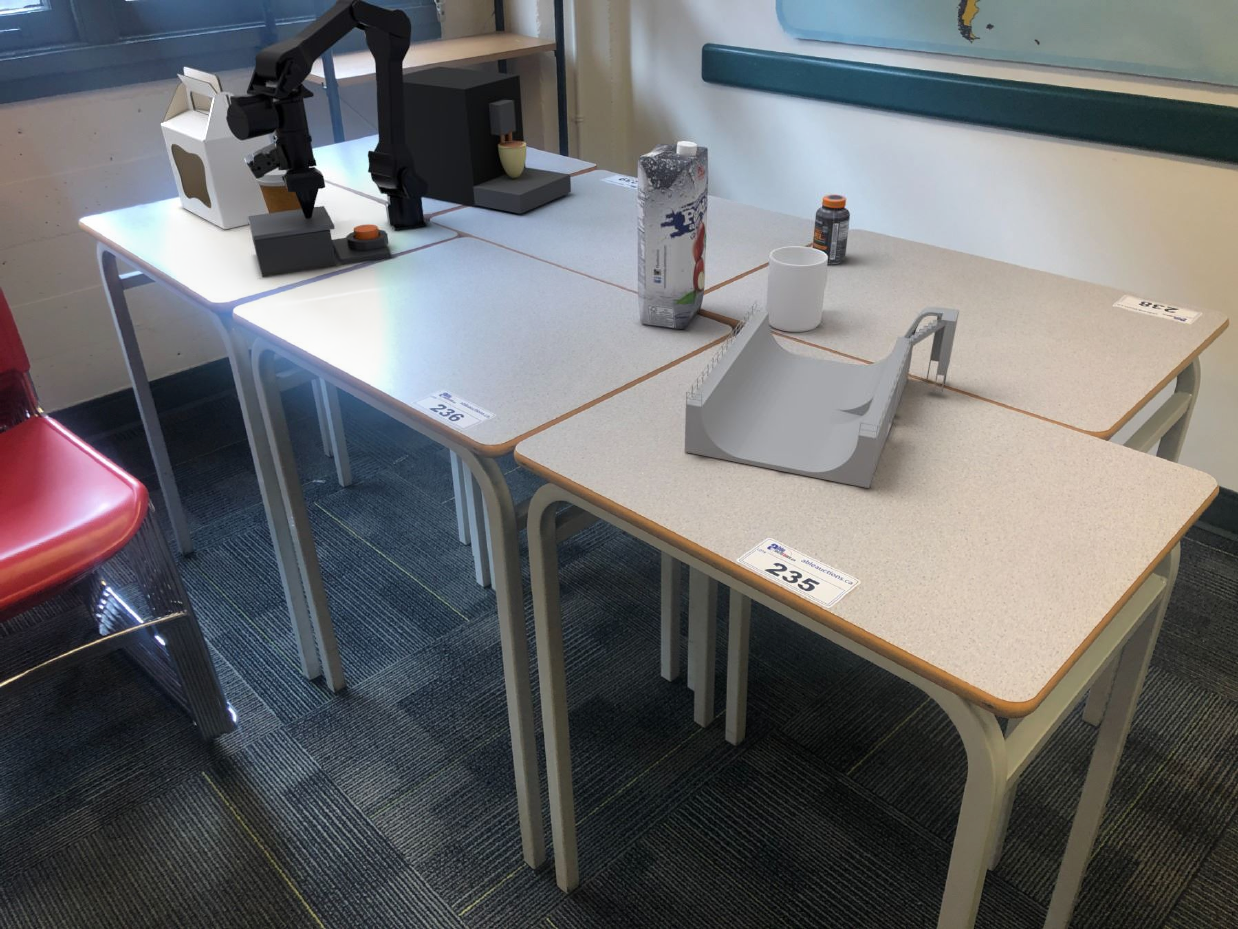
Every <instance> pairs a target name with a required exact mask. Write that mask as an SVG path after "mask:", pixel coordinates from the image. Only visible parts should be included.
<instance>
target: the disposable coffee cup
mask: <svg viewBox="0 0 1238 929" xmlns="http://www.w3.org/2000/svg"><path fill="white" fill-rule="evenodd" d="M285 174H286V170H278V168H276V169H274V170H272V171H271V172H269V173H267V174H265V175H264V176H263V177H261V178H259V179H256V178H255V179H256V181H257V183H258V184H259V185H260V188H261V191H262V194H263V197H264V200H265V203H266V206H267V209H268V212H269V213H275V212H283V211H290V210H298V209H301V206H300V204H299V201H298V199H297V196H296V194H295V192H288V190H287V188H286V186H285V184H284V181H283V179H282V176H284V175H285Z"/></svg>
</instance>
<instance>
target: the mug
mask: <svg viewBox="0 0 1238 929" xmlns="http://www.w3.org/2000/svg"><path fill="white" fill-rule="evenodd" d="M827 261H828V256H827V254H826V253H824V252H822V251H820V250H818V249H814V248H813V247H809V246H801V245H799V246H797V245H795V246H793V245H792V246H791V245H790V246H783V247H779V248H775V249H773V250H772V251H771V252H770V253H769V257H768V273H767V285H766V299H765V312H769V326H770V327H771V328H774V329H775V330H779V331H783V332H788V333H789V332H790V333H803V332H809V331H812V330H814V329H816V328H817V327H818V326H819V325H820V323H821V322H822V316H823V310H824V309H823V307H824V298H825V291H826V290H825V289H826V285H827V281H828V273H829V269H828V264H827Z"/></svg>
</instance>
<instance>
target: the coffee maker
mask: <svg viewBox="0 0 1238 929" xmlns="http://www.w3.org/2000/svg"><path fill="white" fill-rule="evenodd" d="M520 76H521V75H520V74H514V73H503V72H497V71H496V72H495V71H485V70H477V69H467V68H457V67H449V66H434V67H430V68H426V69H422V70H418V71H413V72H408V73H405V74H403V94H404V124H405V143H406V145H407V147H408V149H409V151H410V153H411V155H412V157H413V160H414V166H415V172H416V173H417V174H418V175H419V176H420V177H421V178H422V179H423V180H424V181H426V182H427V183H428V189H427V195H424V196H422V198H427V199H432V200H438V201H442V202H448V203H453V204H456V205H457V204H458V205H463V206H467V207H468V206H469V207H473V208H478V207H485V208H489V209H494V210H495V209H496V210H499V211H504V212H510V213H516V214H520V215H521V214H524V213H526V212H528V211H531V210H532V209H535V208H537V207H539V206H540V207H541V206H542V205H544V204H546V203H549V202H551V201H553V200H556V199H558V198H561V197H564V196H565V195H568V194H570V193H572V186H571V185H572V183H571V181H572V180H571V174H570V173H563V172H556V171H551V170H545V169H538V168H532V167H528V166H527V165H526V160H527V142H525V136H524V122H523V110H522V94H521V91H522V90H521V78H520Z"/></svg>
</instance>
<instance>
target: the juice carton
mask: <svg viewBox="0 0 1238 929" xmlns="http://www.w3.org/2000/svg"><path fill="white" fill-rule="evenodd" d="M636 185H637V186H636V188H637V192H636V193H637V194H636V197H637V200H636V202H637V204H636V205H637V206H636V207H637V303H638V312H639V317H640V322H641V324H643V325H648V326H655V327H663V328H669V329H675V330H684V329H685V328H686V327H688V325H689V324H690V322H691V321H692V320H693V318H694V317H695V316H696V315H697V314H698V313H699V312H700V310H701V308H702V305H703V300H704V296H705V284H706V256H707V229H708V198H709V197H708V196H709V149H708V147H706V146H698V143H696V142H692V141H689V140H680V141H677V144H673V143H672V144H669V143H658V144H656V146H655V147H654V148H653V149H652V150H651V151H650V152H648V153H645V154H642V155H640V156H639V157H638V159H637V184H636Z"/></svg>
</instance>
